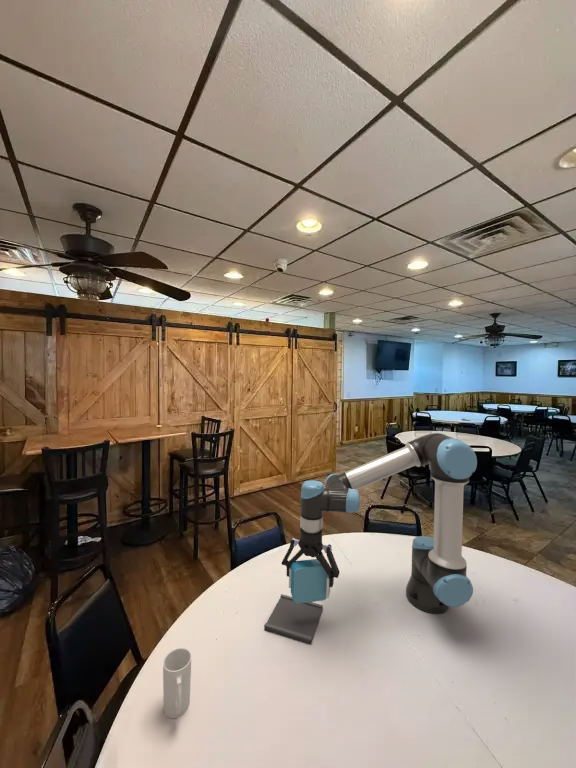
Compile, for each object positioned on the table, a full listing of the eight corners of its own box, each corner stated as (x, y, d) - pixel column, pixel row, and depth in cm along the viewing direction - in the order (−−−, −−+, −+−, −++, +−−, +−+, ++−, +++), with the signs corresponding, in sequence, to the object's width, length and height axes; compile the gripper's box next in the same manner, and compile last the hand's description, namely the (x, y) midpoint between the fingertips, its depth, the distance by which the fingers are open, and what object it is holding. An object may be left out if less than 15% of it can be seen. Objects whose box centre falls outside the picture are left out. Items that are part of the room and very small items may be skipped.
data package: (323, 591, 112) (324, 557, 112) (328, 600, 108) (329, 565, 107) (290, 595, 109) (291, 561, 109) (293, 604, 105) (294, 569, 105)
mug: (162, 697, 83) (162, 652, 83) (189, 688, 86) (189, 644, 85) (163, 738, 74) (164, 687, 73) (193, 726, 76) (194, 677, 76)
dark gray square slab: (322, 610, 115) (322, 605, 115) (311, 645, 100) (311, 639, 100) (281, 598, 121) (281, 594, 121) (264, 630, 106) (264, 625, 106)
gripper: (349, 529, 107) (347, 592, 108) (281, 517, 115) (279, 575, 116) (345, 540, 100) (343, 607, 101) (273, 526, 108) (271, 588, 109)
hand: (309, 590), depth 108 cm, fingers closed on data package, 12 cm apart
